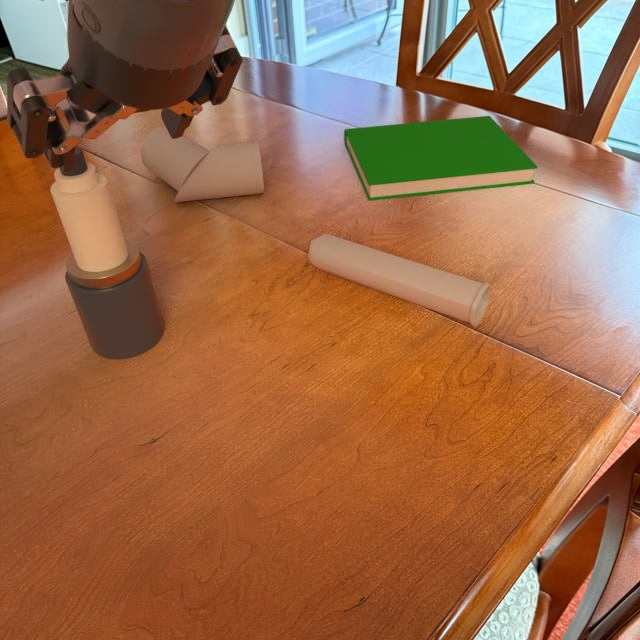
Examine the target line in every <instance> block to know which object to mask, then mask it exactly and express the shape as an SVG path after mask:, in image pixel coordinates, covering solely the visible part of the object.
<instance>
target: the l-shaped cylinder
mask: <svg viewBox="0 0 640 640" xmlns="http://www.w3.org/2000/svg"><path fill="white" fill-rule="evenodd" d="M140 158H141V160H142V163H143V165H144V167H145V168H146V169H147V170H148V171H150V172H151V173H152V174H154V175H155V176H157V177H158V178H159V179H160V180H162V181H163V182H164V183H166V184H167V185H168V186H170V187H171V188H173V189H174V190H175V191H176V192H177V194H176V195H175V197H174V201H173V202H174V203H182V202H184V203H185V202H191V201H194V202H195V201H202V200H212V199H221V198H231V197H240V196H241V197H242V196H251V195H259V194H260V195H261V194H265V184H264V183H265V182H264V174H263V166H262V157H261V149H260V143H259V140H251V141H243V142H242V141H241V142H232V143H231V142H230V143H219V144H216V145H215V146H214V147H213V148H211V150H209V149H208V148H206V147H204V146H202V145H201V144H199V143H198V142H195V141H194V140H192V139H191V138H189V136H186V135H184V134H183V136H182V137H179V138H176V139H172V138H171V136H170V134H169V132H168V130H167V128H166V126H158V127H155V128H154V129H152V130H151V131H149V132H148V133H147V134H146V136H145V137H144V139H143V140H142V142H141V146H140Z"/></svg>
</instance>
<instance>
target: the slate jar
mask: <svg viewBox="0 0 640 640" xmlns="http://www.w3.org/2000/svg"><path fill="white" fill-rule="evenodd" d="M124 239H125V242H126V246H127V249H128V257H127V259H126V260H125V261H124V262H123V263H122V264H120V265H119V266H117V267H115V268H113V269H110V270H106V271H101V272H88V271H84V270H82V269H80V268H79V267H78V265H77V263H76V260H75V257H74V255H73V252H71V253H70V254H69V256H67V259H66V260H65V269H66V271H65V275H64V279H65V283H66V285H67V288H68V291H69V293H70V296H71V299H72V301H73V304H74V306H75V308H76V309H75V310H76V311H77V314H78V316H79V319H80V322H81V324H82V328H83V330H84V332H85V335H86V337H87V340H88V343H89V345H90V347H91V349H92V350H93V352H94V353H95V354H97V355H98V356H100V357H102V358H105V359H111V360H124V359H125V360H126V359H130V358H134V357H137V356H140V355H142V354H145V353H147V352H148V351H149V350H151V349H152V348H154V347H155V346H156V345H157V344H158V343H159V342H160V340H161V339H162V338H163V335H164V332H165V324H164V320H163V316H162V312H161V309H160V305H159V301H158V298H157V293H156V289H155V287H154V286H155V285H154V283H153V278H152V274H151V271H150V268H149V265H148V260H147V258H146V256H145V254H144V253H143V252H142V251H140V248H139V246H138V245H137V244H136V243H135V242H133V241H131V240H129V239H126V238H124Z"/></svg>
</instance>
